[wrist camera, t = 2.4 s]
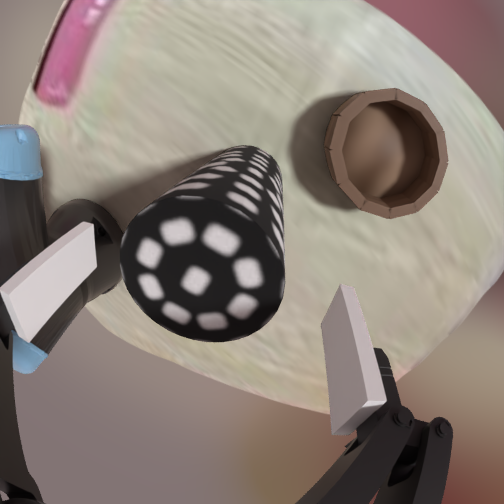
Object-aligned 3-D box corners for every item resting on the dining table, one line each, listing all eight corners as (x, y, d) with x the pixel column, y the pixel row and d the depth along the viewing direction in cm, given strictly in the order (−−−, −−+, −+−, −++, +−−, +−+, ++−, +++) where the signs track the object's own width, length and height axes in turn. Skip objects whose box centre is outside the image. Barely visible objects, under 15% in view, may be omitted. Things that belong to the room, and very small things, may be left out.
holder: (310, 186, 30) (315, 196, 26) (340, 75, 23) (349, 69, 20) (408, 217, 30) (422, 231, 26) (439, 119, 24) (459, 122, 20)
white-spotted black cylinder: (257, 227, 33) (230, 361, 15) (197, 192, 31) (105, 292, 14) (296, 171, 29) (322, 261, 12) (232, 131, 28) (153, 159, 10)
